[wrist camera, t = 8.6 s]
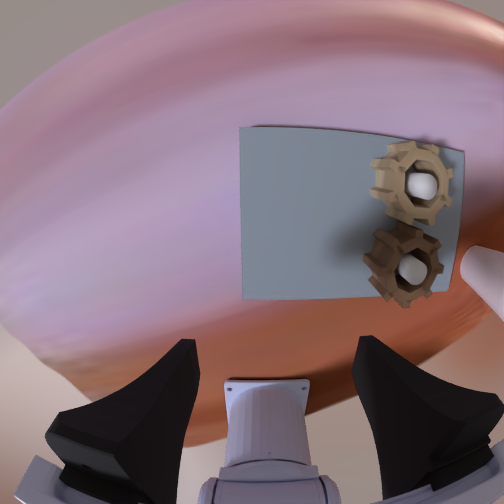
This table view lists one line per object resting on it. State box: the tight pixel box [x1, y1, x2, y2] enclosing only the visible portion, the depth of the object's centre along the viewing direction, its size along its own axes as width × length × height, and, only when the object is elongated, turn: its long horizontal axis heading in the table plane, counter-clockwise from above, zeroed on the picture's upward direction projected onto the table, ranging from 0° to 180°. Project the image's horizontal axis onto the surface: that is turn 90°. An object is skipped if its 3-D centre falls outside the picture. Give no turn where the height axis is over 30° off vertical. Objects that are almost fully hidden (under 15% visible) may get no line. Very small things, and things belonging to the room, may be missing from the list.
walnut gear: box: [363, 221, 444, 308], centre depth 17 cm, size 5×5×3 cm
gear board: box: [239, 127, 464, 300], centre depth 17 cm, size 12×18×5 cm, turn 90°
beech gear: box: [369, 141, 454, 226], centre depth 16 cm, size 5×5×3 cm
